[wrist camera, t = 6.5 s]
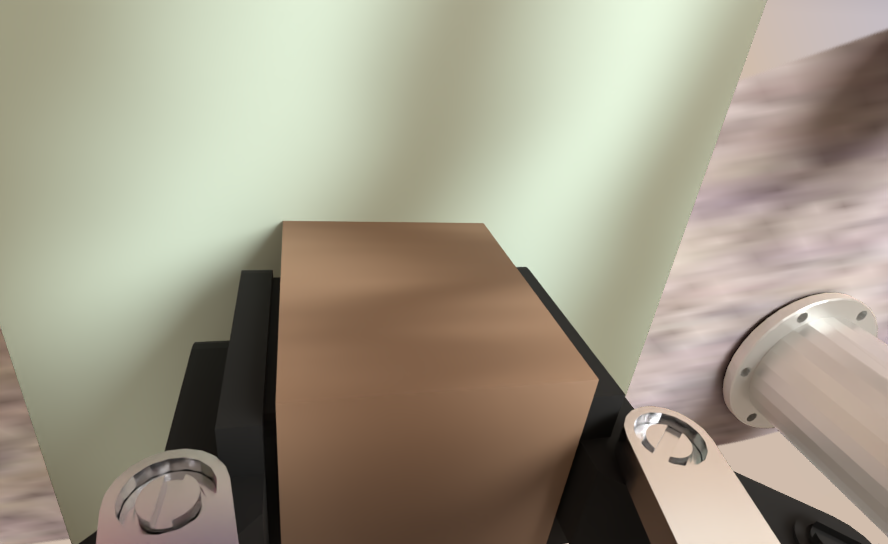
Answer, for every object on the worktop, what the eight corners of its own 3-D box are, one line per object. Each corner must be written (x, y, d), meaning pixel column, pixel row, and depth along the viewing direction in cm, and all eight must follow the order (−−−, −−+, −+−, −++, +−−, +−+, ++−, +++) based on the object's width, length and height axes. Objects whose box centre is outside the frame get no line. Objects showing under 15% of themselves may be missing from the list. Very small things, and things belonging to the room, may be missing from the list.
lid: (743, -19, 11) (1115, -5, 6) (580, 469, 17) (692, 667, 12) (-119, -156, 7) (-1021, -416, 2) (87, 530, 14) (-27, 845, 9)
